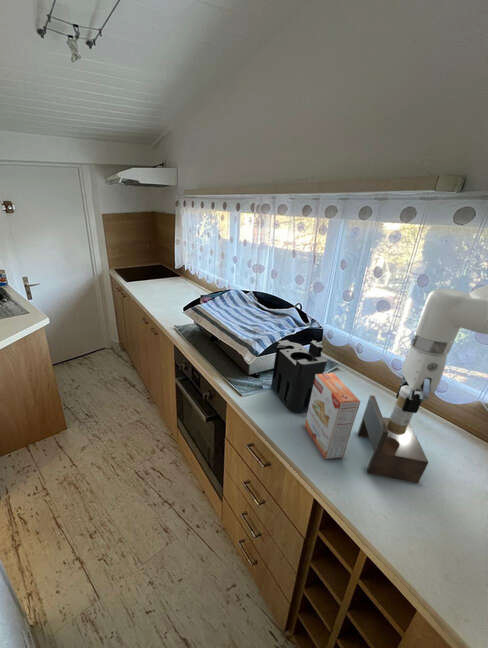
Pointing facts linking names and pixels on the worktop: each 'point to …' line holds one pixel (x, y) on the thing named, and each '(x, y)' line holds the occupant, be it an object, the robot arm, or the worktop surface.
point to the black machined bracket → (296, 373)
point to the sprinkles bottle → (400, 413)
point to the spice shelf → (391, 447)
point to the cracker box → (331, 415)
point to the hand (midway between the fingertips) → (405, 404)
